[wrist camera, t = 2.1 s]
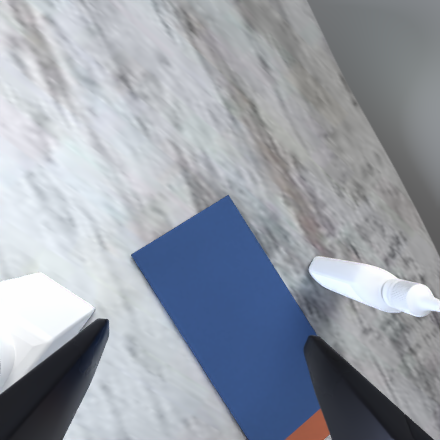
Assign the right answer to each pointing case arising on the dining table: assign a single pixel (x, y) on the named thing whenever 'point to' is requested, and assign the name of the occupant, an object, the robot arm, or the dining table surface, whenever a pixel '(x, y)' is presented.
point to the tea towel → (237, 322)
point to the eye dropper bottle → (373, 286)
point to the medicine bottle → (35, 323)
